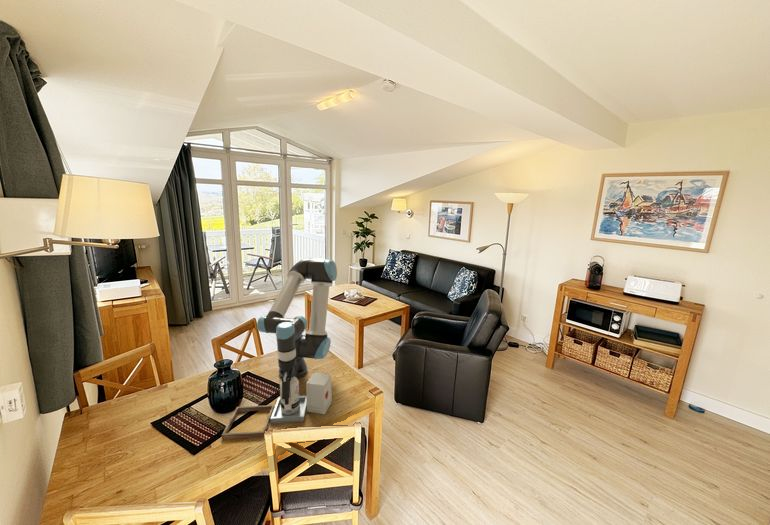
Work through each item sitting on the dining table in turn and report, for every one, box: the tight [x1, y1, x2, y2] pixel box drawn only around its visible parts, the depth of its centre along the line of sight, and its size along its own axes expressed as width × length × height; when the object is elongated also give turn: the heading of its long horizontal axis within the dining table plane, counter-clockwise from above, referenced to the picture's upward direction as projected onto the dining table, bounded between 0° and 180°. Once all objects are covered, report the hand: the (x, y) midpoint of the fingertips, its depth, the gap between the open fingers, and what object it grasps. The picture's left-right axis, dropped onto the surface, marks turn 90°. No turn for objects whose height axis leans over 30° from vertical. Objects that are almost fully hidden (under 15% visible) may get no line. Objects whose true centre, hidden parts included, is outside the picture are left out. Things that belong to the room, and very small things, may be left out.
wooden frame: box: [221, 404, 275, 440], centre depth 132 cm, size 17×17×2 cm
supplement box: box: [305, 372, 333, 415], centre depth 141 cm, size 9×9×15 cm
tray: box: [270, 395, 307, 424], centre depth 139 cm, size 14×14×2 cm
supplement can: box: [279, 376, 300, 415], centre depth 138 cm, size 8×8×15 cm
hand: (290, 401), depth 138 cm, fingers open, 9 cm apart
